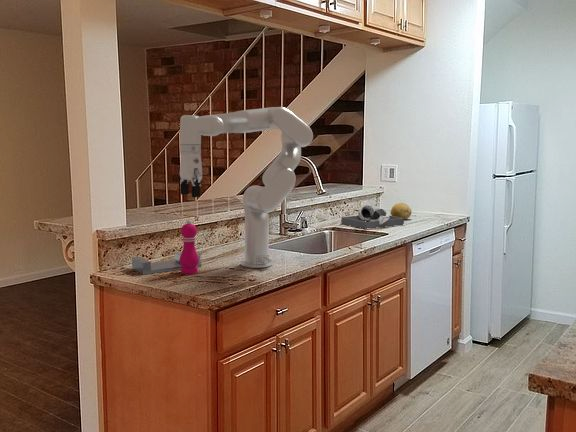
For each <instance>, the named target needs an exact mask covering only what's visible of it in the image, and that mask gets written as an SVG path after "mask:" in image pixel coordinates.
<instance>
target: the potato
mask: <svg viewBox="0 0 576 432" xmlns="http://www.w3.org/2000/svg"><path fill="white" fill-rule="evenodd" d="M390 216H395V217H400V218H404V220H407V219H409V218H410V217H411V216H412V209H411V207H410V206H409V205H408V204H406V203H401V202H400V203H396V204H395V205H393V206H392V207H391V209H390Z"/></svg>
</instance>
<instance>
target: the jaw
mask: <svg viewBox="0 0 576 432" xmlns="http://www.w3.org/2000/svg"><path fill="white" fill-rule="evenodd" d="M181 253H182V251H181V252H176V253H173V257H174V258H173V260H176V261H178V262H180V256H181ZM198 257H199V263H201V255H200V254H198Z"/></svg>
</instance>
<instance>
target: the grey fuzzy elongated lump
mask: <svg viewBox="0 0 576 432" xmlns="http://www.w3.org/2000/svg"><path fill="white" fill-rule="evenodd" d="M357 216H359V218H360V219H361V220H362V221H367V220H369V219H370V220H371V221H380V223H379V225H381V224H382V223H384V222H386V221H387V220H389V218H390V216H391V215H389V214H388V213H387V211H385V209H383V208H379V209H378V208H377V209H375V210H374V208H373V207H372V205H371V206H370V205H364V206H363V207H361V208H360V209H359V210H358V213H357Z"/></svg>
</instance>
